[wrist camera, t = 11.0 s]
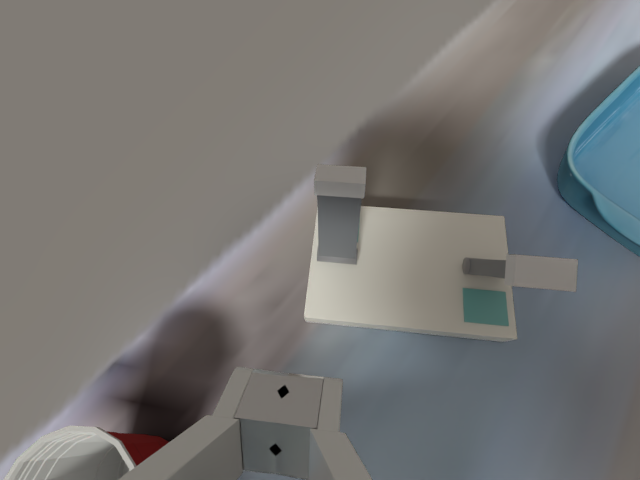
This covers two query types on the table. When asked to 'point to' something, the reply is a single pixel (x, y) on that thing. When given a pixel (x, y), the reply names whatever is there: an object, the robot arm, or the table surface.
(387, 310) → the switch panel
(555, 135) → the table surface
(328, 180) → the lever
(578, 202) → the casserole dish
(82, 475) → the plastic cup
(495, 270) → the lever
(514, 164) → the table surface
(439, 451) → the table surface
